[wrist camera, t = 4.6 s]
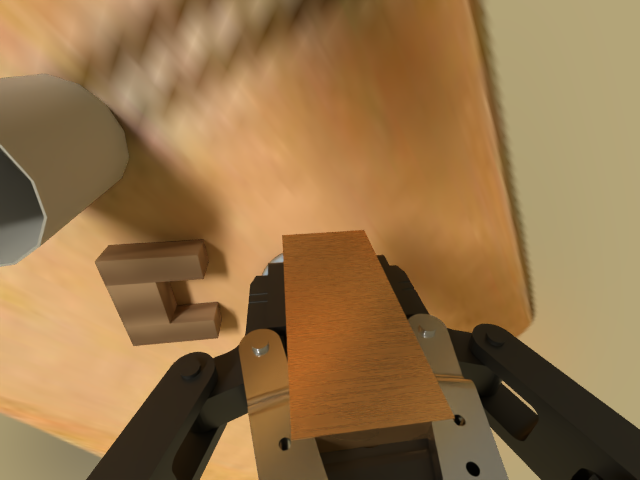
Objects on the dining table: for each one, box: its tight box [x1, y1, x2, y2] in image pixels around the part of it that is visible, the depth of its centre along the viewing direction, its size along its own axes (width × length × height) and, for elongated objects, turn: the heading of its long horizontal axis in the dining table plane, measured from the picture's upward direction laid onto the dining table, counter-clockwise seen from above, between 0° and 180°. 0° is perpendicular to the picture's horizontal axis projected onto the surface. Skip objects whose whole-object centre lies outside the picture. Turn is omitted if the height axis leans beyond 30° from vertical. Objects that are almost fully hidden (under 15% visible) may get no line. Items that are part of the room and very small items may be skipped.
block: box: [282, 230, 455, 453], centre depth 11 cm, size 4×4×8 cm
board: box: [95, 240, 222, 346], centre depth 29 cm, size 10×8×2 cm
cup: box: [0, 74, 129, 267], centre depth 18 cm, size 8×8×10 cm
